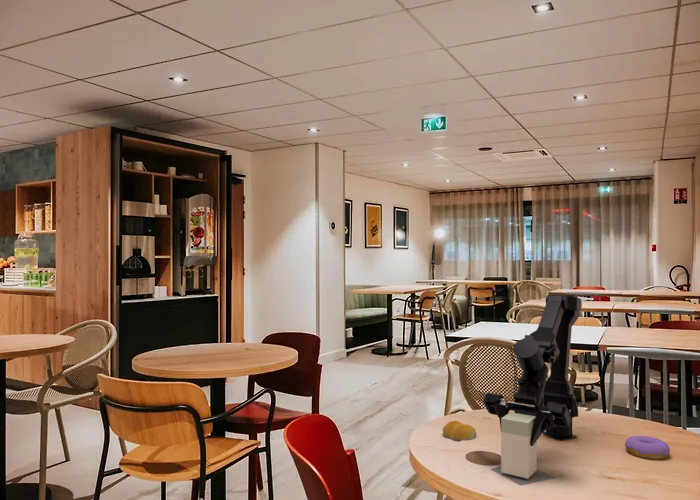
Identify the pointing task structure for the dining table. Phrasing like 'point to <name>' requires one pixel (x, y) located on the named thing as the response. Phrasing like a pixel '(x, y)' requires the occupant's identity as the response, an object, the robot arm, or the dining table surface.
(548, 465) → the dining table surface
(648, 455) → the donut
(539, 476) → the mat
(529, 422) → the carton
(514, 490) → the dining table surface
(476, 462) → the disc
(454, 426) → the bread roll
